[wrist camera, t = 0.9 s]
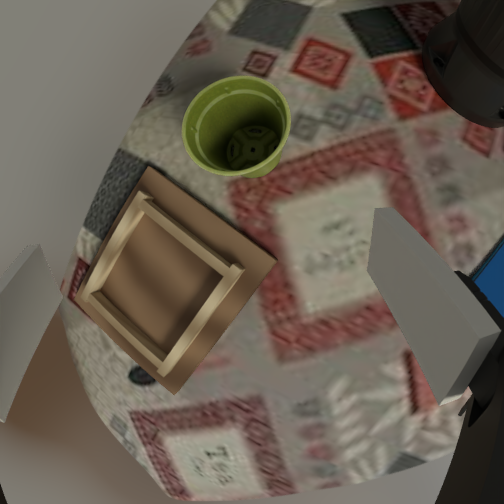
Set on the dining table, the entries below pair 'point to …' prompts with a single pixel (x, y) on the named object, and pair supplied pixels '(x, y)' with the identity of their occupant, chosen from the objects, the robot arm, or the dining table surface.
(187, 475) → the dining table surface
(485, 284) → the smartphone
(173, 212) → the pot stand
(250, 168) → the plant pot
